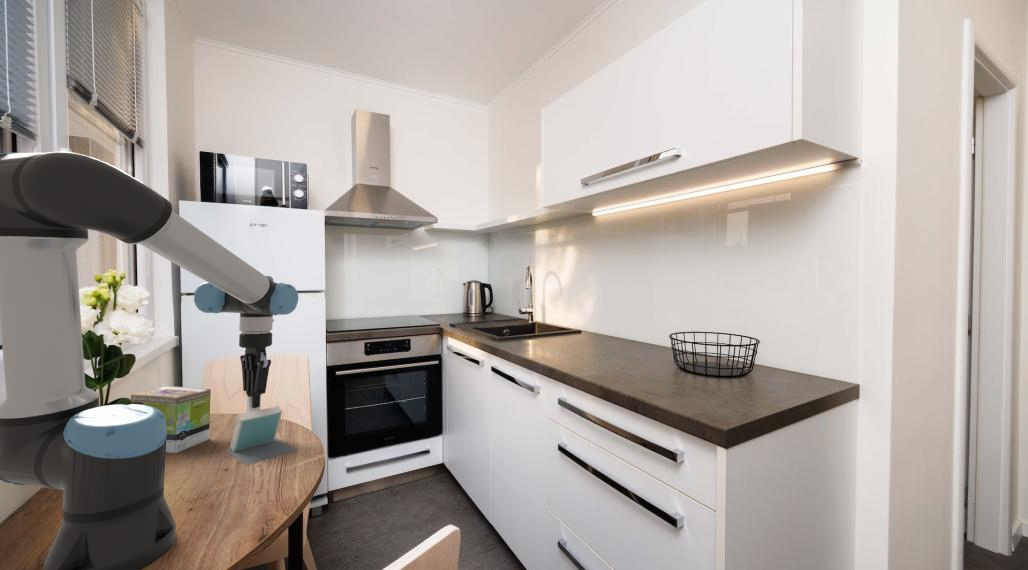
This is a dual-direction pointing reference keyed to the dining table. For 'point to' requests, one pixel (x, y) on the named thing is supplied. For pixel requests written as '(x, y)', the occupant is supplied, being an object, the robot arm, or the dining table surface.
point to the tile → (255, 428)
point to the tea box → (180, 414)
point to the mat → (261, 452)
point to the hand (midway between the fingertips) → (253, 418)
